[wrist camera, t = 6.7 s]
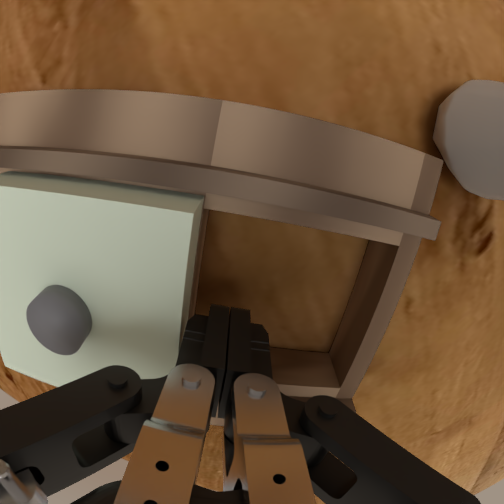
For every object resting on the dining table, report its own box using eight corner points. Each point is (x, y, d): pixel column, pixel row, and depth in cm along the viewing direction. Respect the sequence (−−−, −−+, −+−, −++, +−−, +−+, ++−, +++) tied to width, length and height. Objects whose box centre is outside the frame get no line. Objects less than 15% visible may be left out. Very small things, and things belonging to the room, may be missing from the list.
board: (410, 152, 14) (456, 163, 10) (323, 399, 20) (335, 445, 16) (25, 95, 12) (-23, 94, 8) (36, 345, 18) (9, 381, 14)
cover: (204, 196, 11) (188, 223, 8) (182, 380, 15) (170, 435, 11) (9, 170, 11) (-45, 188, 7) (27, 338, 14) (-5, 378, 11)
